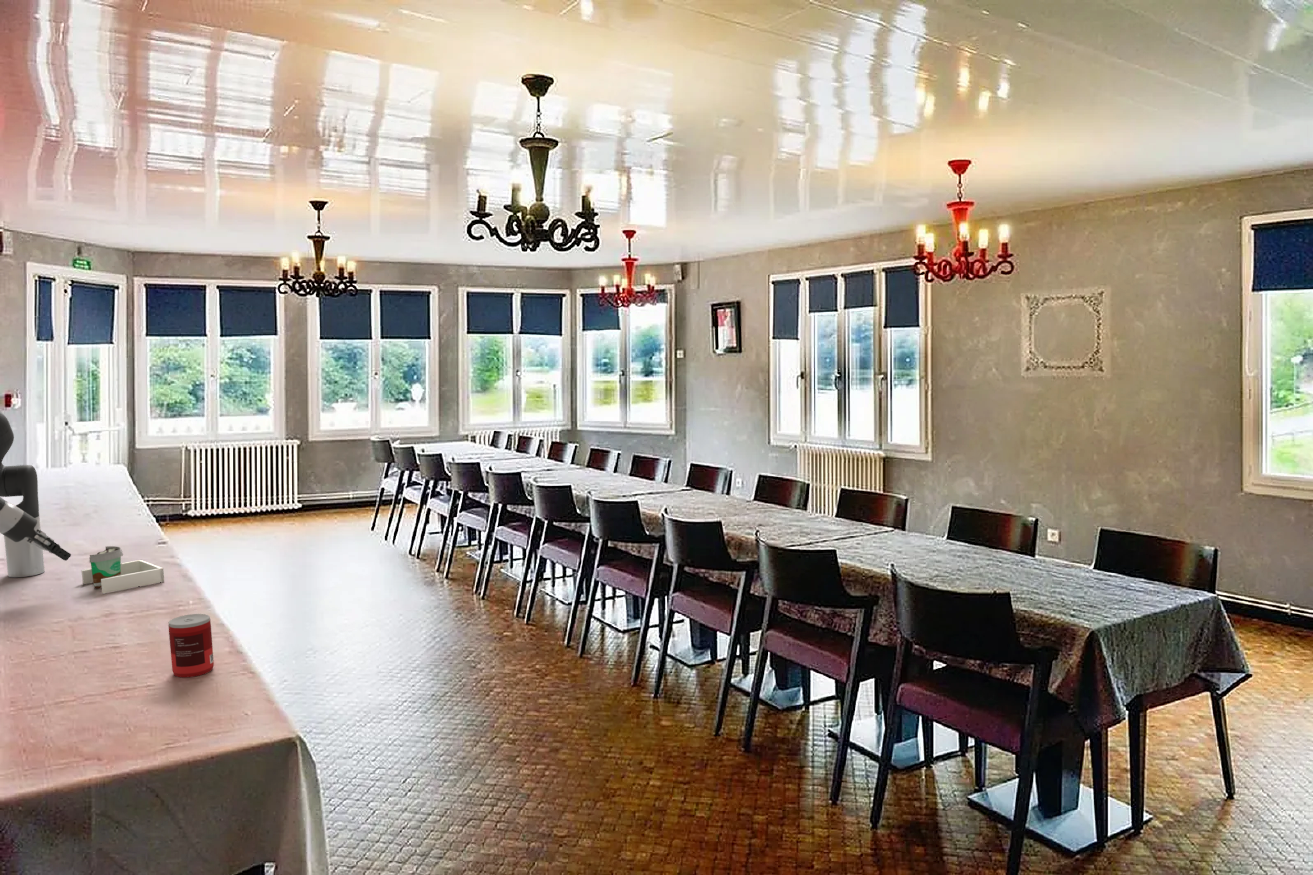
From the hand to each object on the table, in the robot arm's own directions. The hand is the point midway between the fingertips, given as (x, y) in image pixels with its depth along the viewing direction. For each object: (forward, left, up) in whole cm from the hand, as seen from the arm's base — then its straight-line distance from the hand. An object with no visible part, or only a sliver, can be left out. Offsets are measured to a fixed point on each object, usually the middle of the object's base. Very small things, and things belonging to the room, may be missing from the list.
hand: (68, 557), depth 252 cm
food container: (-1, +11, -10) cm, 15 cm away
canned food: (+95, -4, -10) cm, 95 cm away
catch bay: (0, +13, -10) cm, 16 cm away
